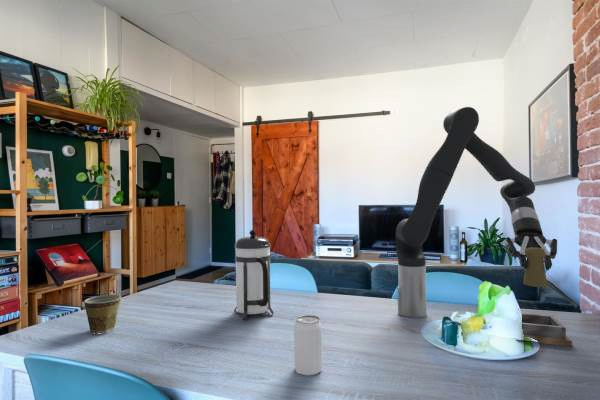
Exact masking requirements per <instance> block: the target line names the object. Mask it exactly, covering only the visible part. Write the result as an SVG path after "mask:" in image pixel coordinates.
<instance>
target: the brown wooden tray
mask: <svg viewBox="0 0 600 400" xmlns="http://www.w3.org/2000/svg"><path fill="white" fill-rule="evenodd" d="M521 313H522V329H523V334H524V337H530V338H533V339H535V340H537V341H538V342H539V343H538V344H547V345H555V346H556V345H557V346H566V347H572V346H573V340H572V339H571V338H570V337H569V336H568V335H567V328H566V326H564V325H563V324H562V322H560V321H559V320H558V319H557V318H556V317H555V316H554V315H548V314H540V313H539V314H538V313H526V312H521Z"/></svg>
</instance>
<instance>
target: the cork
mask: <svg viewBox="0 0 600 400" xmlns="http://www.w3.org/2000/svg"><path fill="white" fill-rule="evenodd" d="M524 255H525V256H526V261H527V268H526V269H524V276H523V285H525V286H527V287H528V286H529V287H535V288H546V287H548V282H547V281H548V280H547V275H546V274H547V273H546V268H545V265H544V261H543V260H544V258H545V255H546V253H545V251H544V249H541V248H537V247H530V248H526V250H525V253H524Z"/></svg>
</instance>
